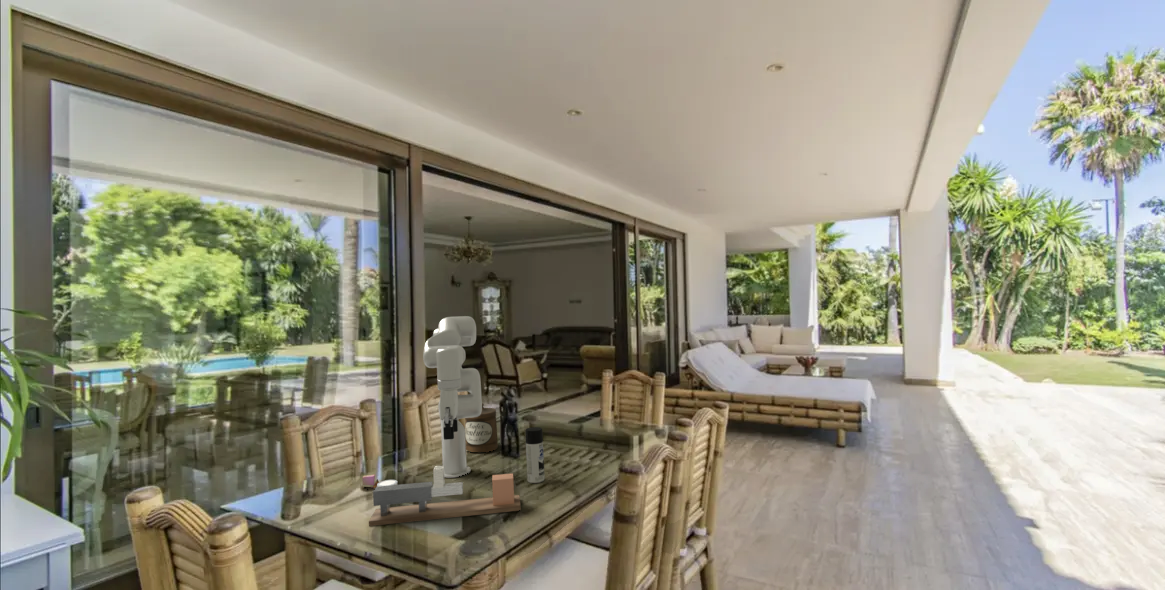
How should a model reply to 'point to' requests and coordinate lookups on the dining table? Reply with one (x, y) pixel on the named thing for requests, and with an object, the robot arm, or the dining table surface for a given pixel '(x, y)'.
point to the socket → (503, 489)
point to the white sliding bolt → (442, 488)
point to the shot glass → (387, 483)
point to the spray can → (534, 455)
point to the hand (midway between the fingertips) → (451, 435)
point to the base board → (442, 511)
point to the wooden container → (482, 431)
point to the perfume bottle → (370, 480)
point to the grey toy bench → (402, 495)
